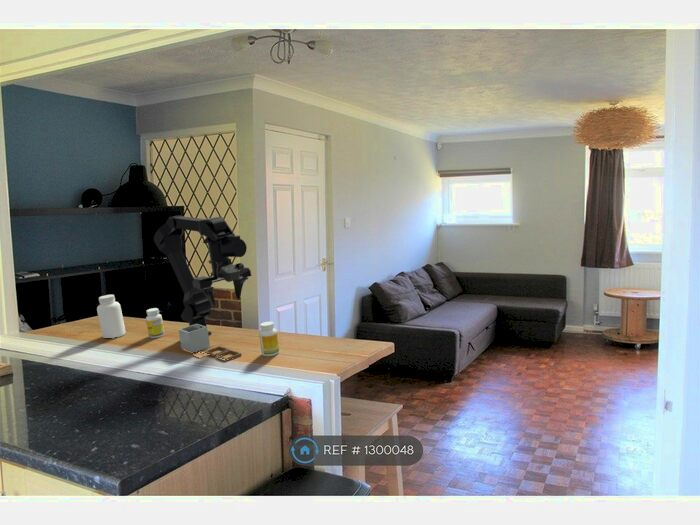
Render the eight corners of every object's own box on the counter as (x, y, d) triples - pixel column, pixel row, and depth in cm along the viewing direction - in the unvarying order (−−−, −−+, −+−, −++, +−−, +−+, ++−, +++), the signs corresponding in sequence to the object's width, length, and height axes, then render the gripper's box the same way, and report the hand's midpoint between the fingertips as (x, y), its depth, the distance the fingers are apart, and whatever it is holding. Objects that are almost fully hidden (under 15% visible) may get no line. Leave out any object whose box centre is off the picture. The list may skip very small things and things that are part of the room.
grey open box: (181, 349, 182) (178, 329, 180) (199, 343, 186) (196, 323, 185) (191, 353, 177) (188, 332, 176) (210, 347, 181) (206, 326, 180)
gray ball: (183, 331, 181) (191, 322, 183) (192, 340, 182) (199, 330, 185) (190, 331, 178) (197, 322, 180) (198, 340, 180) (205, 330, 182)
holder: (205, 353, 176) (204, 351, 176) (220, 348, 180) (220, 345, 180) (225, 361, 167) (225, 359, 167) (241, 355, 171) (241, 353, 171)
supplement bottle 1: (147, 336, 200) (142, 310, 198) (162, 332, 203) (157, 306, 201) (151, 339, 196) (147, 312, 194) (167, 335, 199) (162, 309, 197)
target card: (191, 355, 176) (191, 354, 176) (200, 352, 178) (200, 351, 178) (199, 358, 172) (199, 357, 172) (208, 355, 174) (208, 354, 174)
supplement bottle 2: (258, 354, 171) (254, 324, 169) (273, 348, 174) (269, 319, 172) (268, 358, 167) (263, 327, 165) (283, 352, 170) (279, 322, 168)
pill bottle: (102, 335, 207) (94, 296, 204) (125, 330, 210) (118, 292, 207) (102, 341, 200) (94, 300, 197) (126, 336, 203) (119, 296, 200)
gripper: (204, 264, 168) (213, 314, 172) (257, 252, 181) (263, 298, 184) (188, 261, 177) (196, 309, 180) (239, 250, 189) (245, 294, 192)
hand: (226, 302), depth 184 cm, fingers open, 9 cm apart
